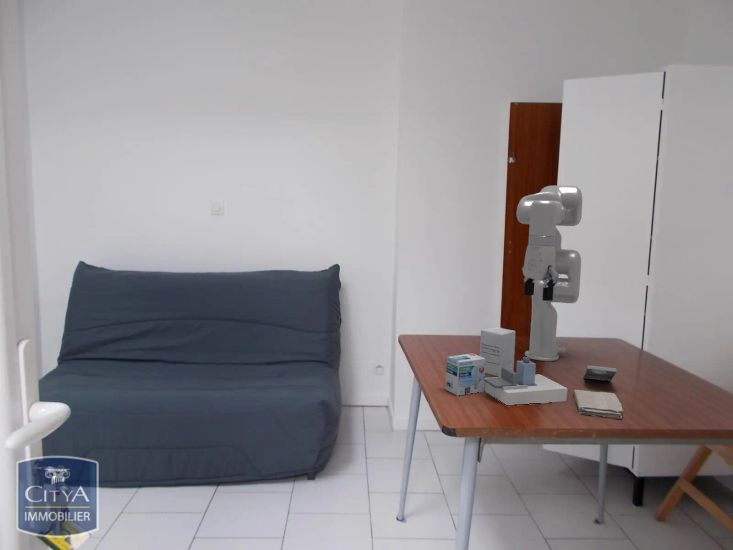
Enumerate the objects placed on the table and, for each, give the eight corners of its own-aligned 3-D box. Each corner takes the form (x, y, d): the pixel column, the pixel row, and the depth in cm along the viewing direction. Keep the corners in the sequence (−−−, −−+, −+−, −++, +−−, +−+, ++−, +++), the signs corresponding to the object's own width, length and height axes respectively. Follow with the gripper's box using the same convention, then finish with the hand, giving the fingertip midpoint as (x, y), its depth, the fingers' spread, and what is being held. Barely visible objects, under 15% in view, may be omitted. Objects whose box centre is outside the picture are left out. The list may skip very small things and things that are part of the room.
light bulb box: (457, 396, 159) (459, 361, 158) (444, 389, 165) (445, 356, 164) (485, 391, 164) (487, 358, 163) (471, 385, 170) (473, 352, 169)
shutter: (504, 379, 163) (504, 367, 162) (516, 386, 156) (517, 373, 156) (483, 380, 161) (484, 368, 160) (495, 388, 154) (496, 375, 154)
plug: (526, 391, 164) (528, 355, 162) (533, 395, 160) (536, 359, 159) (514, 392, 163) (517, 356, 161) (522, 396, 159) (524, 359, 157)
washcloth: (578, 416, 147) (579, 405, 146) (571, 395, 164) (572, 386, 164) (625, 422, 144) (626, 411, 143) (613, 400, 161) (613, 390, 161)
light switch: (610, 375, 179) (616, 365, 166) (610, 392, 177) (616, 384, 164) (583, 372, 182) (587, 362, 169) (583, 389, 180) (587, 380, 167)
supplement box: (491, 366, 192) (494, 326, 190) (514, 372, 185) (516, 330, 184) (477, 371, 185) (480, 329, 184) (500, 377, 179) (502, 334, 177)
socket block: (539, 386, 171) (540, 371, 170) (566, 401, 157) (567, 385, 157) (483, 390, 165) (484, 375, 165) (507, 406, 152) (508, 390, 151)
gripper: (515, 239, 166) (511, 293, 168) (548, 243, 149) (544, 303, 152) (535, 240, 168) (532, 293, 170) (570, 243, 151) (566, 302, 154)
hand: (537, 297), depth 161 cm, fingers open, 9 cm apart
